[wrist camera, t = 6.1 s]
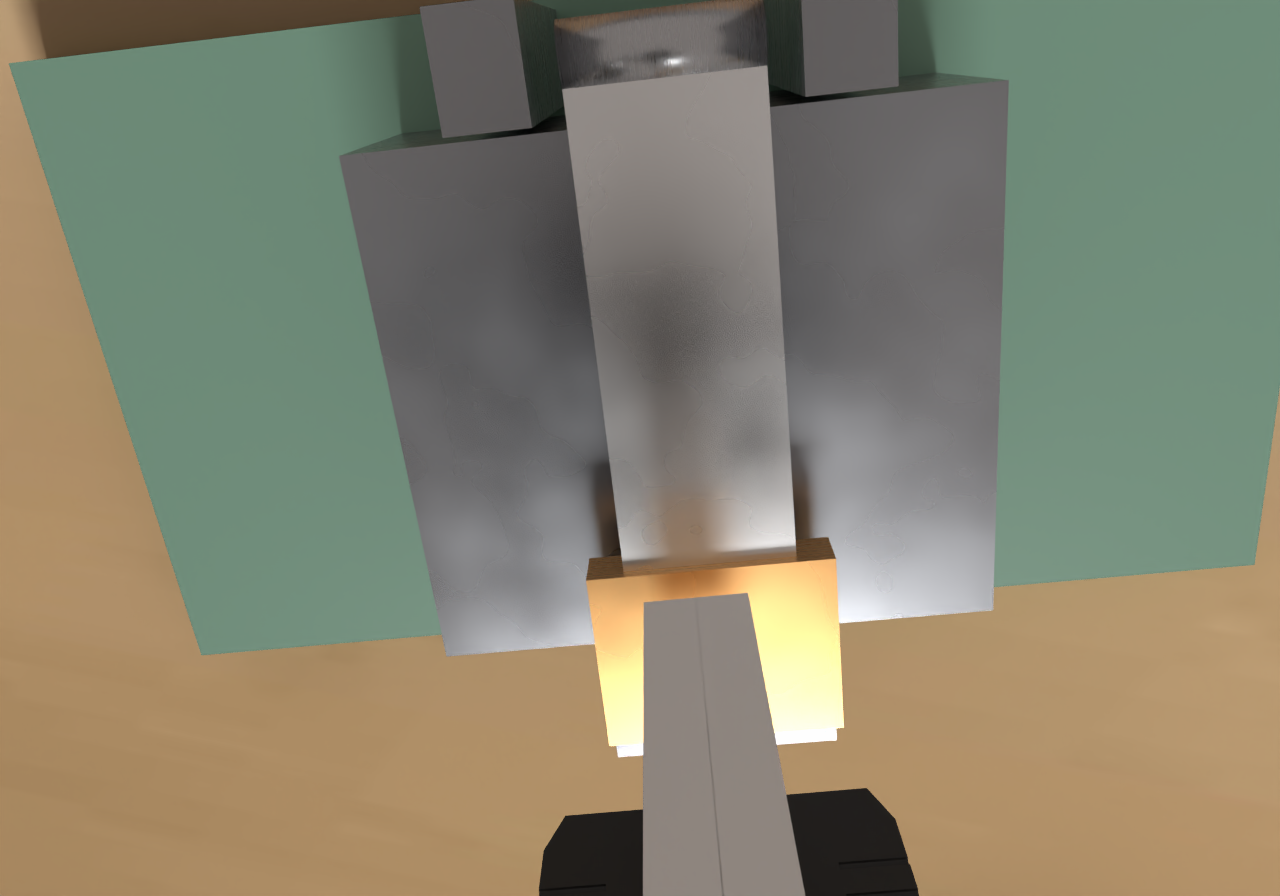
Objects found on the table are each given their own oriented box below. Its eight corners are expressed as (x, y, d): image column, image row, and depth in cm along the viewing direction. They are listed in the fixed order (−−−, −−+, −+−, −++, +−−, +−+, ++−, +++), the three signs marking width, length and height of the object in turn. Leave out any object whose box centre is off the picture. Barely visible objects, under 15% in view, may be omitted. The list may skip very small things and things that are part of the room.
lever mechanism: (495, 628, 23) (446, 808, 17) (382, 30, 18) (265, 26, 13) (934, 590, 22) (1023, 764, 17) (936, -36, 17) (1063, -71, 12)
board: (222, 627, 24) (201, 655, 23) (45, 62, 19) (9, 63, 18) (1225, 539, 23) (1254, 564, 22) (1306, -90, 18) (1348, -98, 17)
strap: (612, 711, 18) (609, 745, 17) (516, 26, 14) (506, 22, 13) (834, 693, 18) (843, 727, 17) (800, -8, 14) (811, -14, 13)
